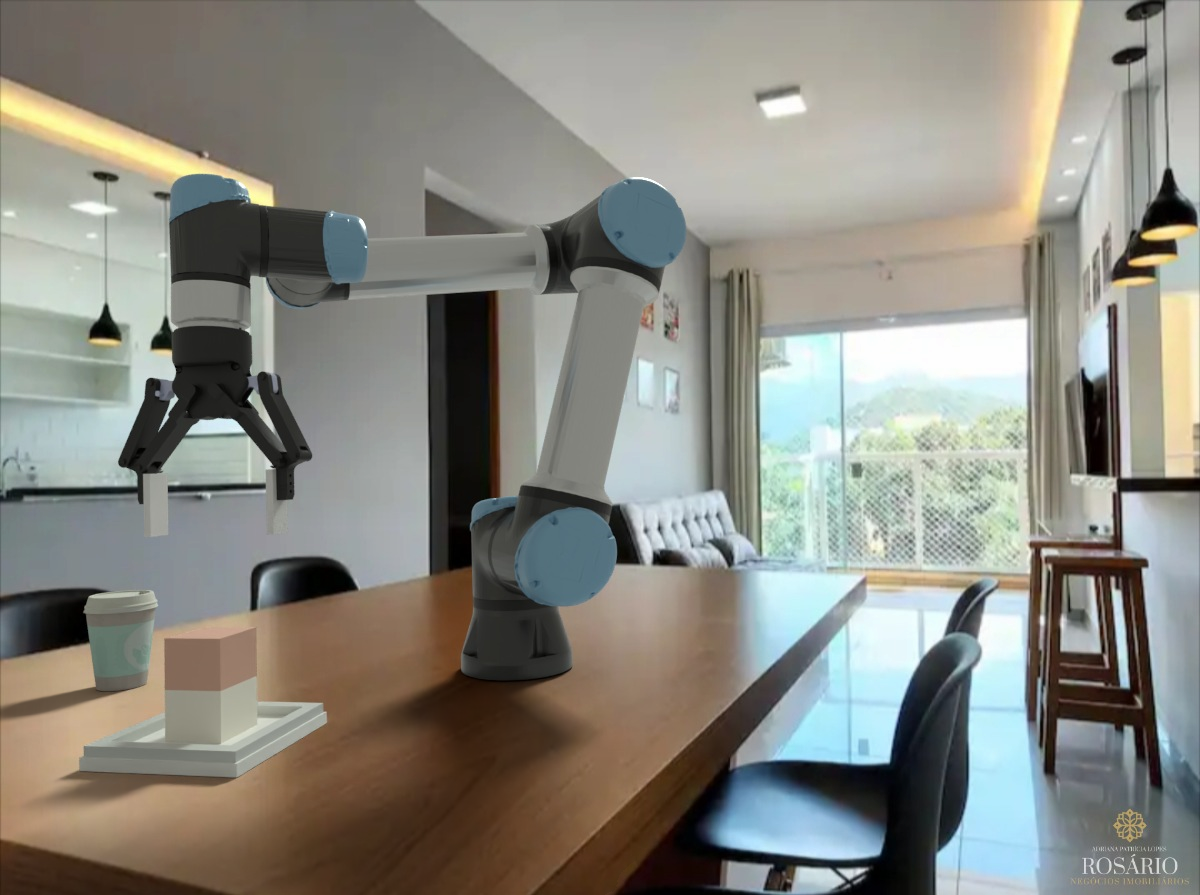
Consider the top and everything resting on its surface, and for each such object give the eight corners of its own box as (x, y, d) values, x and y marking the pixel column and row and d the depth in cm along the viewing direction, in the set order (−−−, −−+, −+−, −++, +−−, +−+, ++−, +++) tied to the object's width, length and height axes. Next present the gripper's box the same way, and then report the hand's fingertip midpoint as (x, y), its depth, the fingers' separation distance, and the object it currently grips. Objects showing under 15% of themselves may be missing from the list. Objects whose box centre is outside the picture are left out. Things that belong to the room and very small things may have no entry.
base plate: (326, 722, 88) (326, 702, 89) (236, 777, 73) (236, 752, 73) (193, 719, 91) (193, 699, 91) (79, 771, 75) (79, 746, 76)
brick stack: (257, 724, 84) (256, 627, 85) (221, 743, 79) (220, 638, 79) (204, 723, 85) (204, 626, 86) (165, 741, 80) (164, 638, 80)
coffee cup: (125, 695, 102) (124, 599, 103) (67, 693, 104) (66, 598, 104) (173, 678, 111) (172, 589, 111) (119, 676, 112) (118, 589, 113)
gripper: (342, 328, 87) (347, 529, 86) (130, 341, 90) (133, 534, 90) (306, 315, 79) (311, 535, 79) (76, 330, 83) (79, 540, 82)
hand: (216, 535), depth 84 cm, fingers open, 13 cm apart
